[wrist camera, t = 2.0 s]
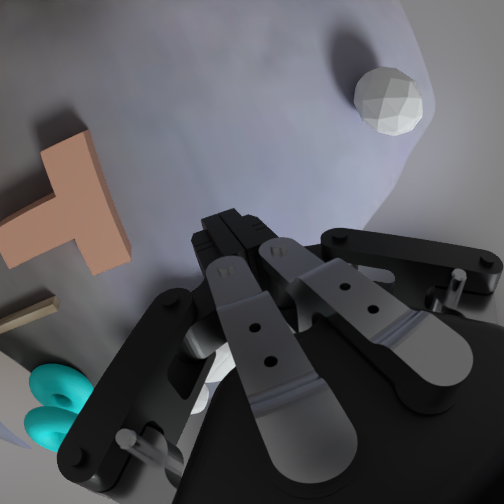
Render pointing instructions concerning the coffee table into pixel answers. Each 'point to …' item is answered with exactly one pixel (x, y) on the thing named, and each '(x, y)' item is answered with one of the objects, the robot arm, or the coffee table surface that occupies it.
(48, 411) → the donuts
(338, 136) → the coffee table surface
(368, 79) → the geometric ball
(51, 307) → the frame
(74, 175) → the t piece
